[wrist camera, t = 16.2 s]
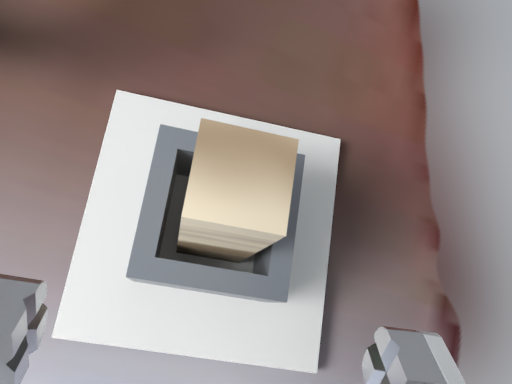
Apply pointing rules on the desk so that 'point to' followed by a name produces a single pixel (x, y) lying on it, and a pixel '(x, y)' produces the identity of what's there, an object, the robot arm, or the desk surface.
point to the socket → (189, 266)
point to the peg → (236, 192)
